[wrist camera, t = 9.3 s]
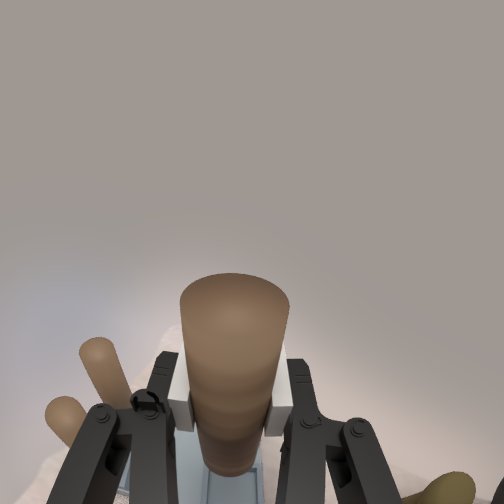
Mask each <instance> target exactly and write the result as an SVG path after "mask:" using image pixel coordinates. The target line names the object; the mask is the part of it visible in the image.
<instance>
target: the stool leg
mask: <svg viewBox="0 0 504 504" xmlns="http://www.w3.org/2000/svg"><path fill="white" fill-rule="evenodd" d="M289 307H290V306H289V301H288V298H287V296H286V295H285V293H284V292H283V291H282V290H281V289H280V288H279V287H277V286H276V285H274V284H273V283H271V282H269V281H267V280H264V279H262V278H259V277H256V276H251V275H246V274H238V273H225V274H216V275H211V276H207V277H204V278H201V279H199V280H196V281H195V282H193V283H192V284H190V285H189V286H188V287H187V288H186V289H185V290H184V291H183V293H182V295H181V298H180V310H181V322H182V332H183V341H184V350H185V358H186V366H187V373H188V380H189V387H190V393H191V400H192V406H193V412H194V417H195V423H196V428H197V433H198V438H199V443H200V448H201V453H202V457H203V461H204V463H205V465H206V467H207V468H208V469H209V470H210V471H211V472H213V473H215V474H217V475H219V476H223V477H237V476H240V475H243V474H245V473H246V472H248V471H249V470H250V469H251V468H252V466H253V464H254V462H255V458H256V455H257V451H258V447H259V443H260V440H261V436H262V432H263V428H264V424H265V420H266V416H267V412H268V408H269V403H270V399H271V395H272V391H273V386H274V382H275V377H276V373H277V368H278V363H279V359H280V354H281V349H282V344H283V339H284V334H285V329H286V324H287V319H288V314H289Z"/></svg>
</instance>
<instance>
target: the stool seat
mask: <svg viewBox="0 0 504 504" xmlns="http://www.w3.org/2000/svg"><path fill="white" fill-rule="evenodd" d="M79 356H80V358H81V360H82V362H83V365H84V367H85V369H86V370H87V373H88V375H89V377H90V379H91V381H92V383H93V385H94V387H95V388H96V390H97V392H98V394H99V396H100V398H101V399H102V401H103V403H105V404H109V405H110V406H112V407H113V408H114V409H129V408H133V407H132V405H131V403H130V398H131V395H132V393H131V390H130V388H129V385H128V383H127V381H126V378H125V375H124V373H123V370H122V368H121V365H120V362H119V360H118V357H117V354H116V351H115V348H114V345H113V343H112V342H111V341H110V340H108V339H106V338H102V337H96V338H92V339H89V340H88V341H86V342H84V343H83V344H82V346H81V347H80V350H79ZM86 415H87V413H86V412H85V410H84V409H83V407H82V406H81V404H80V403H79V402H78V401H77V400H75V399H74V398H72V397H68V396H63V397H58V398H55V399H54V400H52V401H51V402H50V403H49V404H48V406H47V408H46V411H45V419H46V422H47V424H48V426H49V427H50V428H51V429H52V430H53V431H54V432H55V434H56V435H58V437H59V438H60V439H61V440H62V441H63V442H64V443H65V444H66V445H67V446H68V447H69V448H71V446H72V444H73V441H74V439H75V437H76V435H77V433H78V431H79V429H80V427H81V425H82V423H83V421H84V419H85V417H86ZM174 436H175V442H176V469H177V486H178V499H179V504H264V491H263V467H262V463H261V460H260V443H259V447H258V451H257V455H256V458H255V462H254V464H253V466H252V468H251V469H250V470H249V471H248V472H246V473H245V474H243V475H240V476H237V477H223V476H219V475H217V474H215V473H213V472H211V471H210V470H209V469H208V468H207V467H206V465H205V463H204V461H203V457H202V453H201V448H200V443H199V438H198V433H197V428H196V423H195V426H194V432H186V431H179V430H177V429H176V427H175V432H174ZM130 458H131V452H130V455H129V458H128V461H127V464H126V466H125V469H124V472H123V475H122V478H121V481H120V484H119V487H118V490H117V493H118V494H122V495H125V496H128V497H129V480H130Z"/></svg>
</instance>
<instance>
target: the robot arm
mask: <svg viewBox="0 0 504 504" xmlns="http://www.w3.org/2000/svg"><path fill="white" fill-rule="evenodd" d="M130 403H131V405H132V407H133V408H129V409H114V408H113V407H112V406H110V405H109V404H105V403H100V404H96V405H94V406H93V407H92V408H91V409H90V410H89V412H88V414H87V415H86V417H85V419H84V421H83V423H82V425H81V427H80V429H79V431H78V433H77V435H76V437H75V439H74V441H73V444H72V446H71V448H70V450H69V452H68V454H67V456H66V458H65V461H64V463H63V465H62V467H61V469H60V472H59V474H58V476H57V479H56V481H55V483H54V486H53V488H52V491H51V493H50V495H49V498H48V501H47V503H46V504H113V502H114V499H115V496H116V493H117V490H118V487H119V484H120V481H121V478H122V475H123V472H124V469H125V466H126V464H127V461H128V458H129V455H130V452H131V458H130V480H129V504H179V499H178V486H177V469H176V442H175V436H174V432H175V427H176V429H177V430H179V431H186V432H194V426H195V417H194V412H193V406H192V400H191V393H190V387H189V380H188V373H187V366H186V358H185V350H184V341H183V340H182V344H181V347H180V351H179V353H175V352H167V351H163V352H162V353H161V354H160V355H159V356H158V357H157V358H156V361H155V364H154V368H153V370H152V374H151V376H150V379H149V383H148V386H147V389H140V390H138V391H136V392H135V393H133V394H132V395H131V398H130ZM264 431H265V437H269V436H282V434H283V433H284V442H283V444H282V447H281V449H280V452H282V453H281V462H280V471H279V479H278V487H277V495H276V502H275V504H324V502H325V466H326V461H327V465H328V468H329V472H330V475H331V479H332V482H333V486H334V490H335V493H336V497H337V500H338V504H403V503H402V500H401V497H400V495H399V492H398V490H397V487H396V484H395V482H394V479H393V477H392V474H391V471H390V469H389V466H388V464H387V461H386V459H385V457H384V454H383V452H382V449H381V447H380V444H379V442H378V439H377V437H376V435H375V432H374V430H373V428H372V426H371V424H370V423H369V422H368V421H367V420H365V419H362V418H352V419H349V420H348V421H347V422H341V421H335V420H331V419H328V418H326V417H324V416H323V415H322V414H321V413H320V411H319V409H318V406H317V402H316V397H315V392H314V388H313V384H312V379H311V375H310V370H309V366H308V365H307V363H306V362H305V361H304V360H303V359H286V354H285V347H284V341H283V344H282V349H281V354H280V359H279V363H278V368H277V373H276V377H275V382H274V386H273V391H272V395H271V399H270V403H269V408H268V412H267V416H266V420H265V424H264ZM491 504H504V478H503V479H502V481H501V482H500V484H499V486H498V488H497V490H496V492H495V494H494V497H493V500H492V503H491Z"/></svg>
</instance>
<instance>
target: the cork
mask: <svg viewBox="0 0 504 504" xmlns="http://www.w3.org/2000/svg"><path fill="white" fill-rule="evenodd" d="M475 493H476V488H475V483H474V481H473V479H472V478H471V477H470V476H469V475H468V474H465V473H464V472H454V471H453V472H450V473H447V474H443V475H442V476H440V477H438V478H437V479H435V480H434V481H432V482H431V483H430V484H429V485H428V486H427V487H426V488H425V489H424V491H422V492H419V493H417V494H414V495H411V496H408V497H405V498H402V499H401V500H402V503H403V504H472V503H473V500H474V498H475Z"/></svg>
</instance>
